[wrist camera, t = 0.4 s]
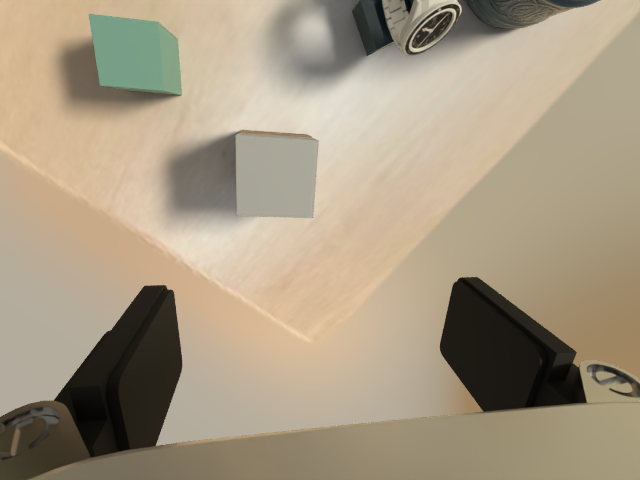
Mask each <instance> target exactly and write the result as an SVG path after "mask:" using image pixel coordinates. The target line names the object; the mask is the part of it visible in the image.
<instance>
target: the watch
mask: <svg viewBox="0 0 640 480" xmlns="http://www.w3.org/2000/svg"><path fill="white" fill-rule="evenodd" d="M352 12H353V15H354V18H355V21H356V24H357V27H358V30H359V32H360V35H361V38H362V41H363V44H364V47H365V50H366V53H367V56H368V55H370V54H372V53H374V52H376V51H378V50H380V49H382V48H384V47H386V46H388V45H390V44H392V43H394V42H395V44H396V45H397V47H399V49H400V50H401V51H402V52H403V54H404V55H417V54H420V53H422V52H425V51H426V50H428V49H430V48H431V47H433V46H434V45H436V44H437V43H438V42H439V41H441V40H442V39H443V38H444V37H445V36H446V35H447V34H448V33H449V31H450V30H451V29H452V28H453V26H454V25H455V23H456V22H457V20H458V18H459V15H460V14H461V12H462V8H461V5H460V4H459V3H458V2H457V0H360V2H359V3H358V4H357V5H356V7H355V8H354V9H353V11H352Z"/></svg>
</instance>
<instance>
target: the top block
mask: <svg viewBox="0 0 640 480" xmlns="http://www.w3.org/2000/svg"><path fill="white" fill-rule="evenodd" d="M318 142H319V141H318V140H316V139H314V138H311V137H297V136H283V135H269V134H256V133H242V132H240V133H238V134H236V201H237V216H261V217H294V218H313V212H314V198H315V184H316V170H317V156H318Z"/></svg>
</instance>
